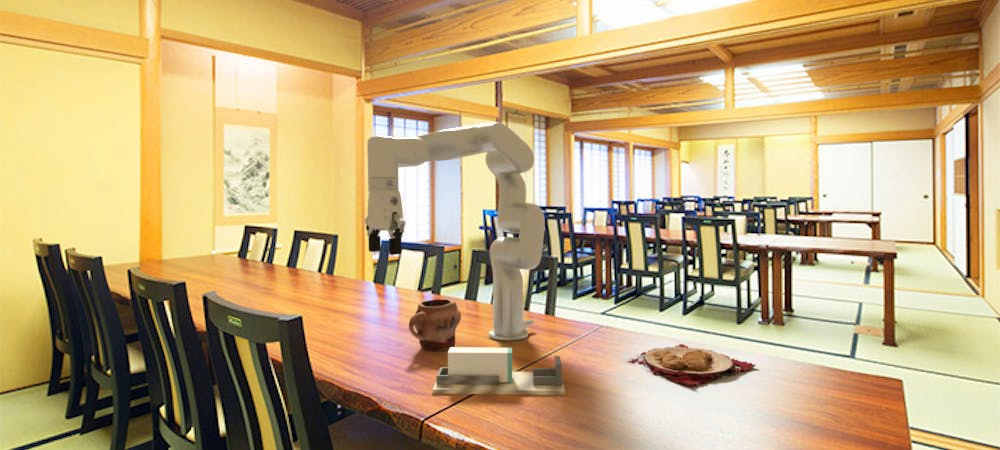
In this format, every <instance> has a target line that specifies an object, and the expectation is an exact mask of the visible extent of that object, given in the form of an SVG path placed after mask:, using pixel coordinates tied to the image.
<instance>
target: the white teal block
mask: <svg viewBox="0 0 1000 450" xmlns="http://www.w3.org/2000/svg"><path fill="white" fill-rule="evenodd" d="M447 367H448V375H479V376H499V382H512V372H513V347H467V346H465V347H464V346H463V347H461V346H460V347H459V346H457V347H456V346H453V347H450V348H449V349H448V351H447Z"/></svg>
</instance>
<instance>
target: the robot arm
mask: <svg viewBox="0 0 1000 450" xmlns="http://www.w3.org/2000/svg"><path fill="white" fill-rule="evenodd" d="M366 144H367V150H366V151H367V152H366V153H367V185H368V186H367V190H368V198H367V217H366V218H364V223H365V226H366V227H365V230H366V231H367V232H366V233H367V234H366V235H367V237H368V251H369V252H370V253H372V252H380V251H381V250H382V249H381V248H382V247H381V235H380V232H381V231H384V232H385V231H387V233H388V234H389V237H390V238H388V251H389V255H391V256H393V255H394V256H395V255H400V254H402V238H403V234H404V232H405V226H406V220H405V219H404V213H403V203H402V197H401V192H400V191H399V168H410V167H418V166H421V165H423V164H425V163H428V162H442V161H443V162H445V161H451V160H456V159H461V158H466V157H471V156H475V155H481V154H485V153H486V154H485V164H486V167H487V168H488V170H489V171H490V173H492V175H493V176H494V178H495V180H497V183H498V188H499V189H498V190H499V193H498V195H499V196H498V207H497V227H498V229H500V230H501V231H502V232H505V233H509V234H519V237H515V236H513V237H512V236H503V237H502V236H501V237H498V238H496V239H495V240H494V241H493V242H492V243H491V245H490V248H489V258H490V264H491V268H492V269H491V270H492V280H493V281H492V284H493V285H492V291H493V292H492V293H493V297H492V298H493V300H492V301H493V302H492V303H493V308H492V309H493V312H492V313H493V329H490V330H489V331H488V336H489V338H490V339H494V340H497V341H505V342H507V341H509V342H510V341H513V342H514V341H520V340H523V339H525V338H527V337H528V336H529V331H528V330H527V329H526V328H527V327H531V326H533V325H534V321H533V319H528V320H527V319H524V279H523V275H522V274H523V273H522V272H521V270H525V271H529V270H530V271H531V270H534V269H536V268H537V267H538V266H539V265H540V262H541V260H542V256H543V248H544V247H543V246H544V237H545V224H546V223H545V215H544V212H543V210H542V208H541V207H540V206H539V204H538V205H537V204H536V203H531V202H527V201H526V199H527V186H526V185H527V184H526V183H525V179H524V178H523V176H522V175H521V174H524V173H527V172H528V171H530V170H531V169H532V168H533V166H534V163H535V155H534V152H533V150H532V148H531V147H530V145H528V143H527V142H525V141H524V140H523V139H522V138H521V137H520V136H519V135H518V134H517V133H516V132H514V131H513V130H512V129H511V128H509V127H508V126H507V125H506V124H504V123H502V122H500V121H494V122H486V123H485V122H484V123H480V124H474V125H466V126H461V127H455V128H449V129H442V130H437V131H434V132H429V133H425V134H423V135H422V134H421V135H417V136H411V137H410V136H409V137H393V136H388V135H376V136H370V137H369V138H368V139H367V143H366Z"/></svg>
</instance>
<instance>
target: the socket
mask: <svg viewBox="0 0 1000 450" xmlns="http://www.w3.org/2000/svg"><path fill="white" fill-rule="evenodd" d="M562 366H563V365H562V359H561V356H560V355H554V367H552V368H551V367H550V368H549V367H548V368H547V367H532V372H533V385H538V386H562V379H563V375H562V370H563V369H562Z"/></svg>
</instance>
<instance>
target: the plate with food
mask: <svg viewBox="0 0 1000 450" xmlns="http://www.w3.org/2000/svg"><path fill="white" fill-rule="evenodd" d="M642 356H643V360H641V361H640V360H639V359H641V358H642ZM627 363H629V364H636V363H637V364H638V365H643V367H645V368H647V369H648V368H650V370H646V372H647V373H651V374H652V375H656V376H662V375H663V374H664V373H665V374H664V377H665V378H667V380H668V381H671V382H673V383H679V384H680V383H681V384H685V385H686V386H694V385H695V386H699V384H700V383H702V382H703V383H704V384H706V385H707V384H709V382H710V381H714V380H717V379H719V378H722V379H723V378H725V375H719V374H721V373H722V372H727V371H728V370H731V371H730V374H729V376H730V377H731V376H733V375H740V374H741V373H742V372H741V371H747V370H751V369H753V368H755V366H756V363H754V364H753V363H752V362H747V361H741V360H739V359H735V358H730V357H729V355H726V354H722V353H721V352H719V353H718V352H715V351H714V350H712V349H709V350H708V349H705V348H700V347H699V348H697V347H689V346H688V345H685V344H683V343H679V344H678V346H677V345H675V346H671V347H670V346H666V347H664V348H661V347H660V348H659V347H658V348H656V347H655V348H652V349H651V350H650V349H649V350H647V351H646V352H644V351H642V353H640V355H639V356H637V358H635V359H633V358H631V359H630V360H628V361H627ZM736 367H738V368H736ZM661 372H662V374H661ZM675 375H676V376H675ZM677 376H678V377H677Z"/></svg>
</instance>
